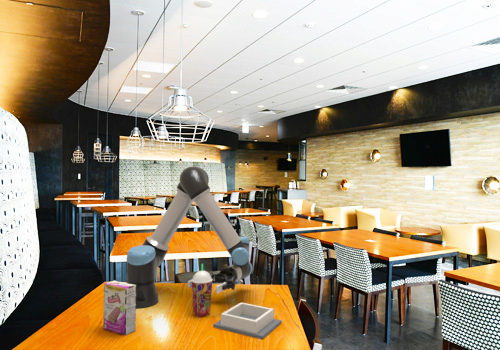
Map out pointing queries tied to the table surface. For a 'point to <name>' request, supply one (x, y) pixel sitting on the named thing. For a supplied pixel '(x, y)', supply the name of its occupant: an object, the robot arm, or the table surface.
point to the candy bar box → (119, 307)
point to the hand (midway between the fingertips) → (202, 287)
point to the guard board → (248, 320)
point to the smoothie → (201, 293)
